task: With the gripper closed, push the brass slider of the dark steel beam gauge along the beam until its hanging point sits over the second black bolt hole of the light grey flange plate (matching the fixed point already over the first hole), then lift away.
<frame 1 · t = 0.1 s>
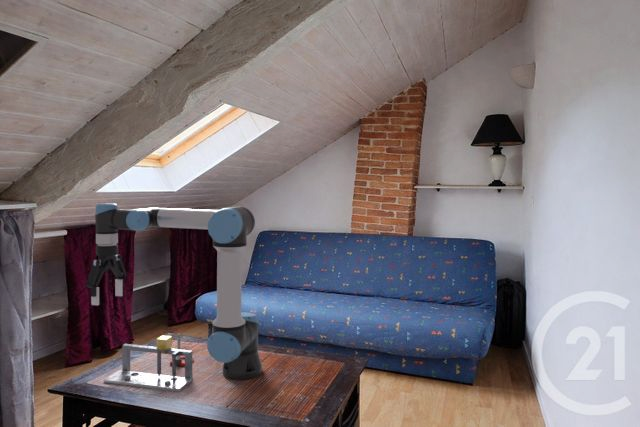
hand: (107, 300, 176), 28 cm above the table, fingers open, 13 cm apart
dividers beam: (157, 375, 176), on the table
slider leg: (162, 355, 174), point 8 cm above the table, slide at 0.0 cm
tow hook: (182, 362, 189), on the table
flange plate: (148, 381, 171), on the table
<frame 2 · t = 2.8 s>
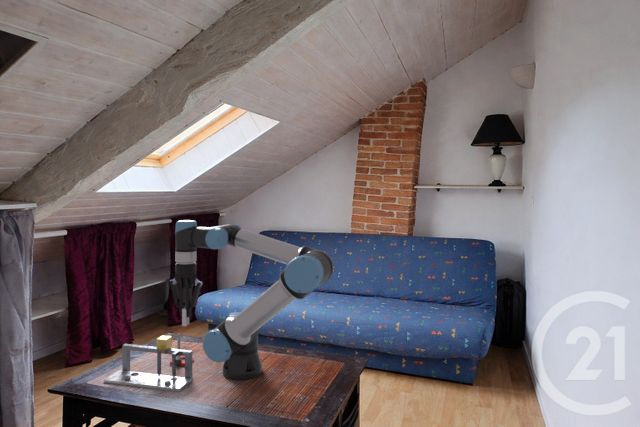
hand: (185, 325, 173), 20 cm above the table, fingers closed
nothing on the table moved.
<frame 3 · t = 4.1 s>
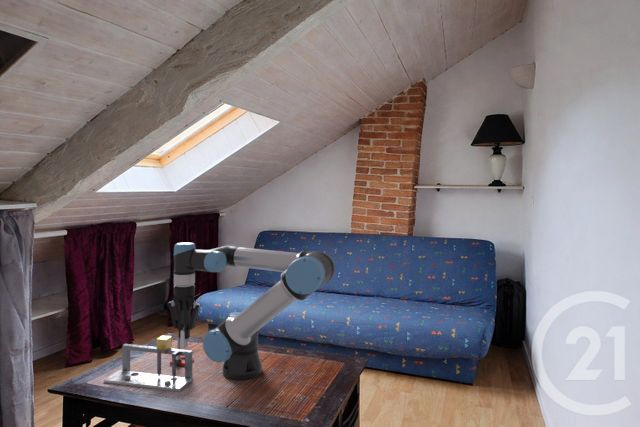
hand: (184, 346, 173), 12 cm above the table, fingers closed
nothing on the table moved.
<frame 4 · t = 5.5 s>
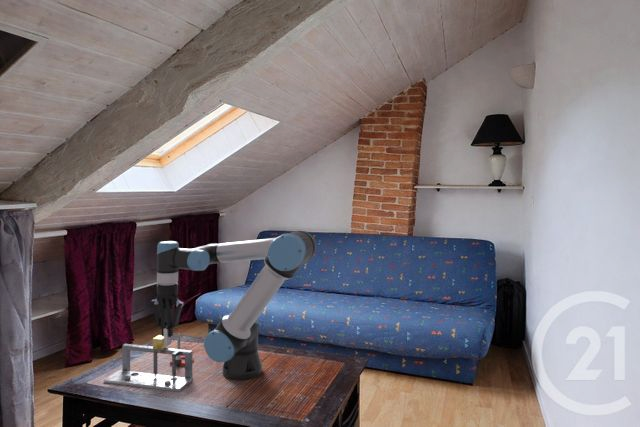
hand: (167, 344, 175), 12 cm above the table, fingers closed
slider leg: (159, 355, 174), point 8 cm above the table, slide at 1.5 cm, touching gripper
everything else where it was.
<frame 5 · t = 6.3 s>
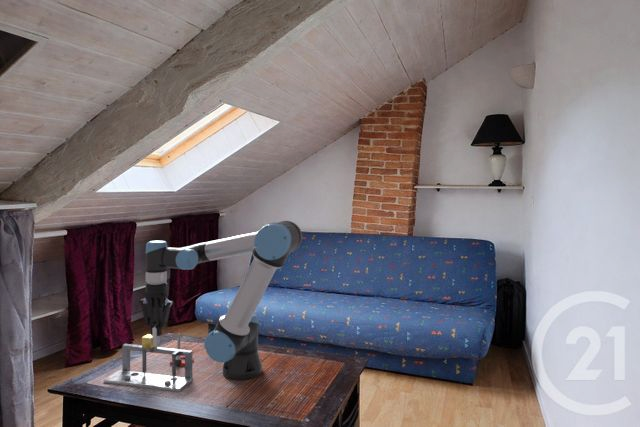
hand: (156, 343, 176), 12 cm above the table, fingers closed
slider leg: (148, 354, 175), point 8 cm above the table, slide at 6.1 cm, touching gripper
everything else where it was.
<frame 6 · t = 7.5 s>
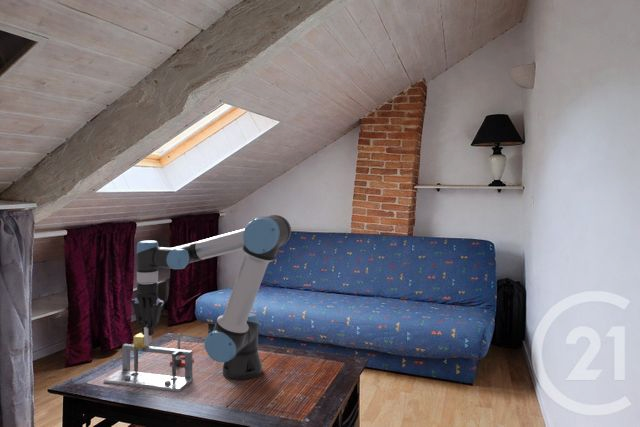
hand: (147, 343, 176), 12 cm above the table, fingers closed
slider leg: (139, 353, 176), point 8 cm above the table, slide at 9.5 cm, touching gripper
everything else where it was.
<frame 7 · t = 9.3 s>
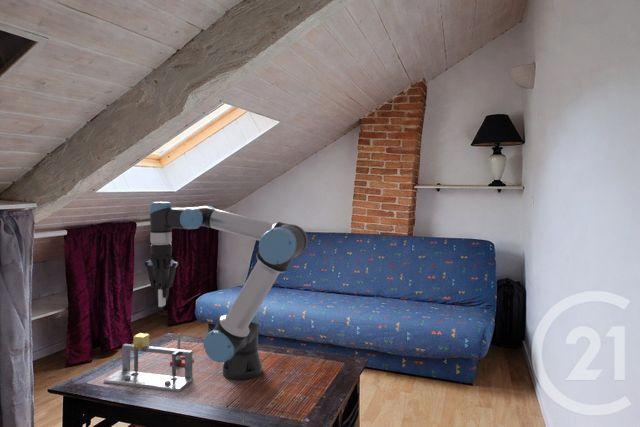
hand: (162, 305, 174), 27 cm above the table, fingers closed
slider leg: (139, 353, 176), point 8 cm above the table, slide at 9.5 cm
everything else where it was.
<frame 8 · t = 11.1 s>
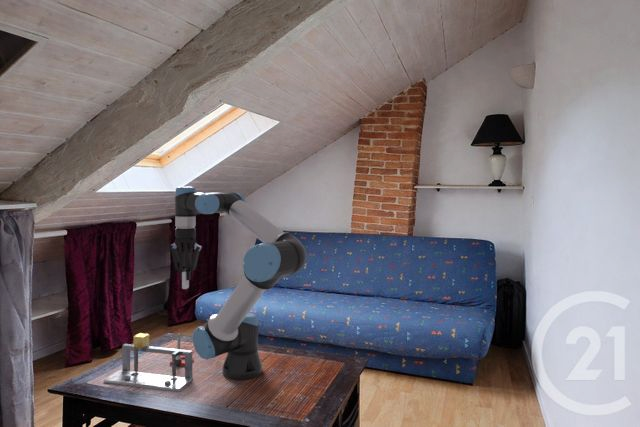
hand: (185, 288, 179), 32 cm above the table, fingers closed
nothing on the table moved.
at the end: slider leg slide at 9.5 cm; slider leg 0.5 cm from the target spot on the table beside the flange plate, resting on flange plate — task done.
